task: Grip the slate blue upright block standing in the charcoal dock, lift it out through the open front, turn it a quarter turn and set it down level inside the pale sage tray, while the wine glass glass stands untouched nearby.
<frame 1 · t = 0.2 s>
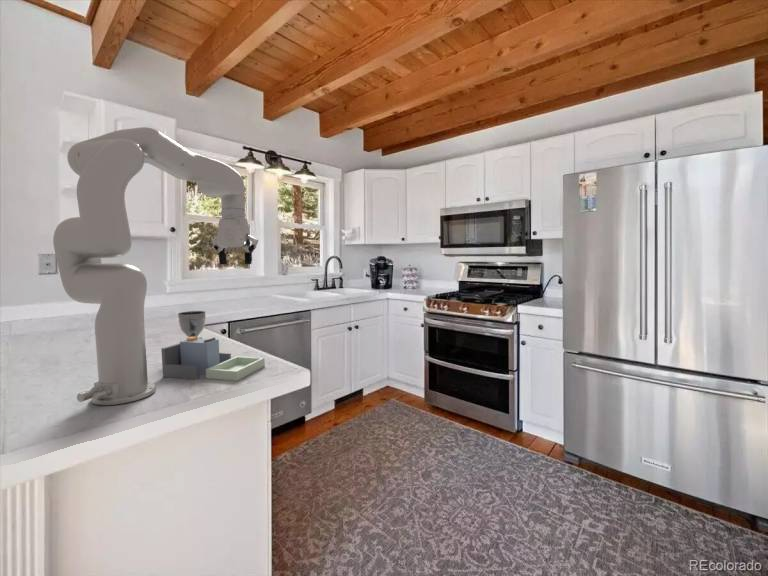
hand: (235, 264, 128), 31 cm above the countertop, tool pointing down, fingers open, 9 cm apart
tray: (236, 371, 106), on the countertop
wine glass: (194, 357, 122), on the countertop
dock: (200, 370, 107), on the countertop
slate blue upright block: (201, 370, 107), on the countertop
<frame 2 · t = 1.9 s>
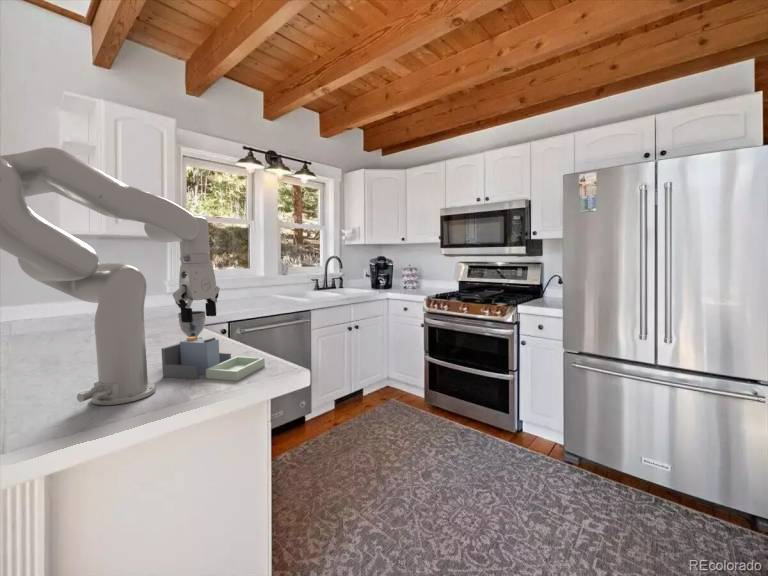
hand: (199, 319, 107), 15 cm above the countertop, tool pointing down, fingers open, 9 cm apart
nothing on the countertop moved.
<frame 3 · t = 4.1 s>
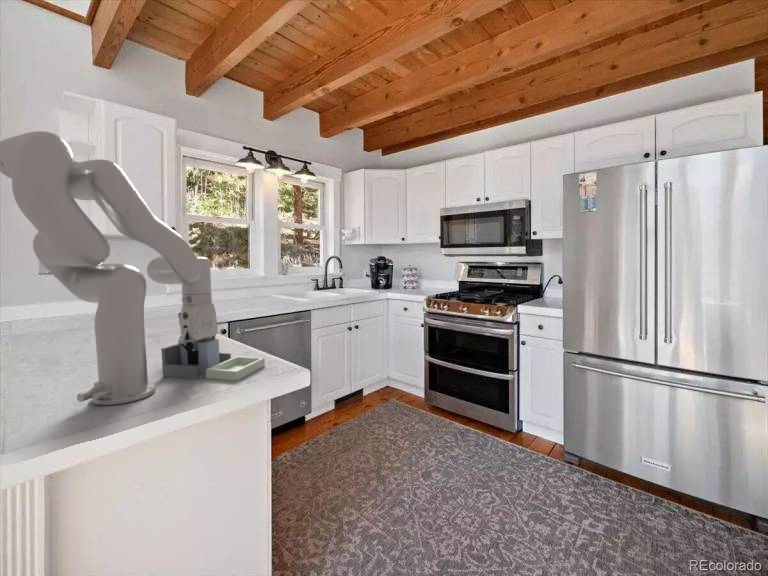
hand: (200, 360, 107), 3 cm above the countertop, tool pointing down, fingers closed on slate blue upright block, 5 cm apart
slate blue upright block: (200, 370, 107), on the countertop, touching gripper
everything else where it was.
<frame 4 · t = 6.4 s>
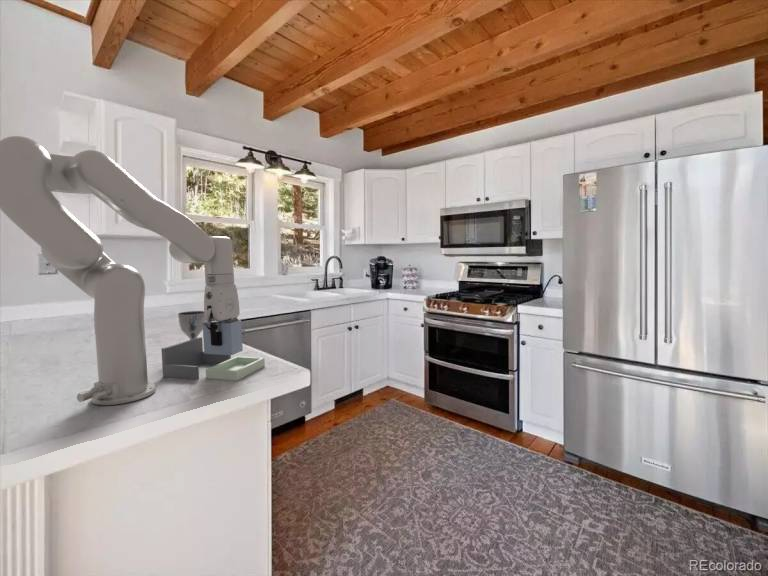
hand: (223, 342, 106), 9 cm above the countertop, tool pointing down, fingers closed on slate blue upright block, 5 cm apart
slate blue upright block: (223, 352, 106), point 6 cm above the countertop, touching gripper
everything else where it was.
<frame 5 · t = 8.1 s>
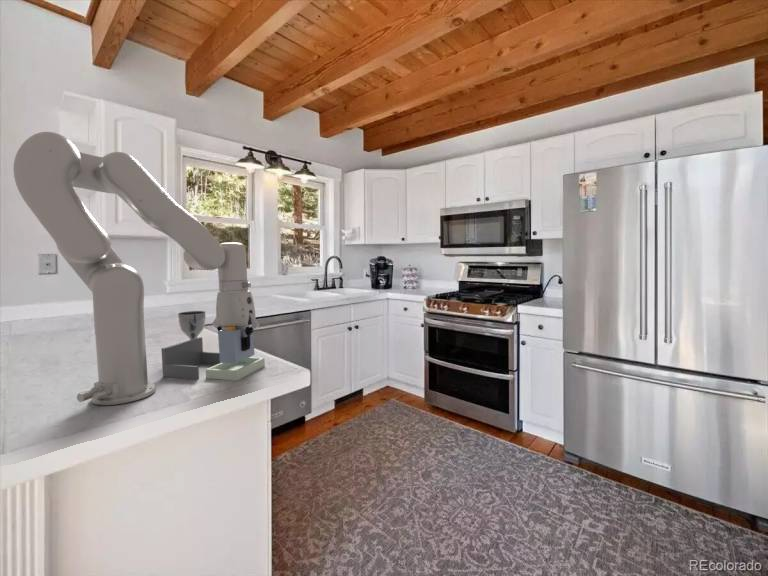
hand: (237, 348, 105), 7 cm above the countertop, tool pointing down, fingers closed on slate blue upright block, 5 cm apart
slate blue upright block: (237, 358, 106), point 4 cm above the countertop, touching gripper
everything else where it was.
when the fingers open (5 cm above the countertop, at t = 9.2 s): slate blue upright block drops 1 cm, resting on tray.
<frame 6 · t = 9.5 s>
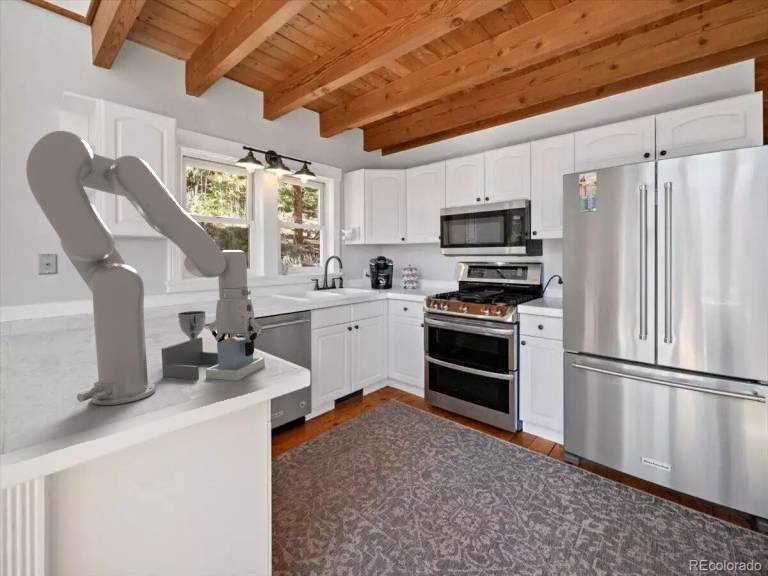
hand: (236, 354, 105), 5 cm above the countertop, tool pointing down, fingers open, 8 cm apart
slate blue upright block: (236, 370, 106), resting on tray
everything else where it was.
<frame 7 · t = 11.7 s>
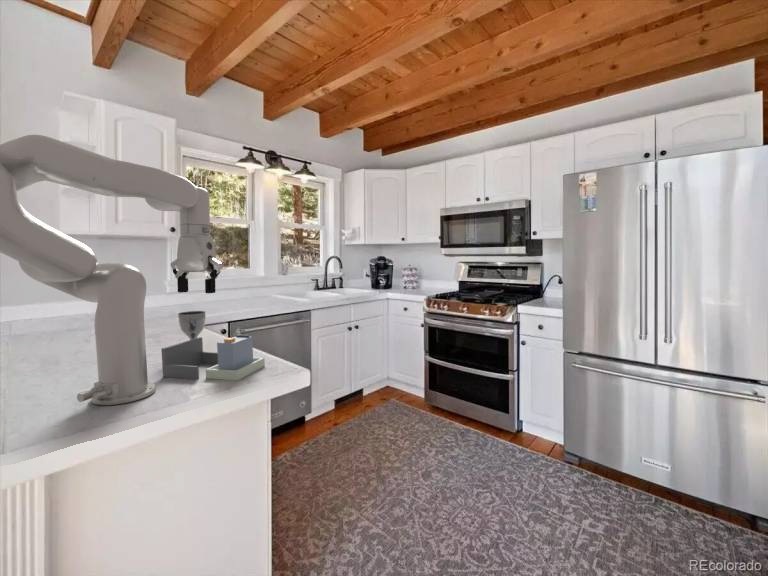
hand: (196, 292, 104), 23 cm above the countertop, tool pointing down, fingers open, 9 cm apart
nothing on the countertop moved.
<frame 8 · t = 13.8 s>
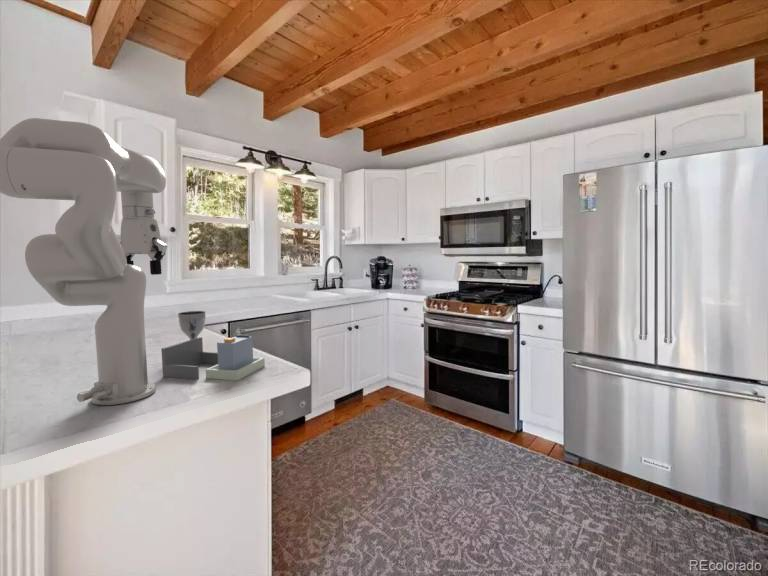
hand: (142, 274, 106), 28 cm above the countertop, tool pointing down, fingers open, 9 cm apart
nothing on the countertop moved.
at the end: slate blue upright block inside the target area on the tray (0.1 cm from its centre), point 0.5 cm above the tray's base; slate blue upright block tilted 0°; the gripper is holding nothing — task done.
